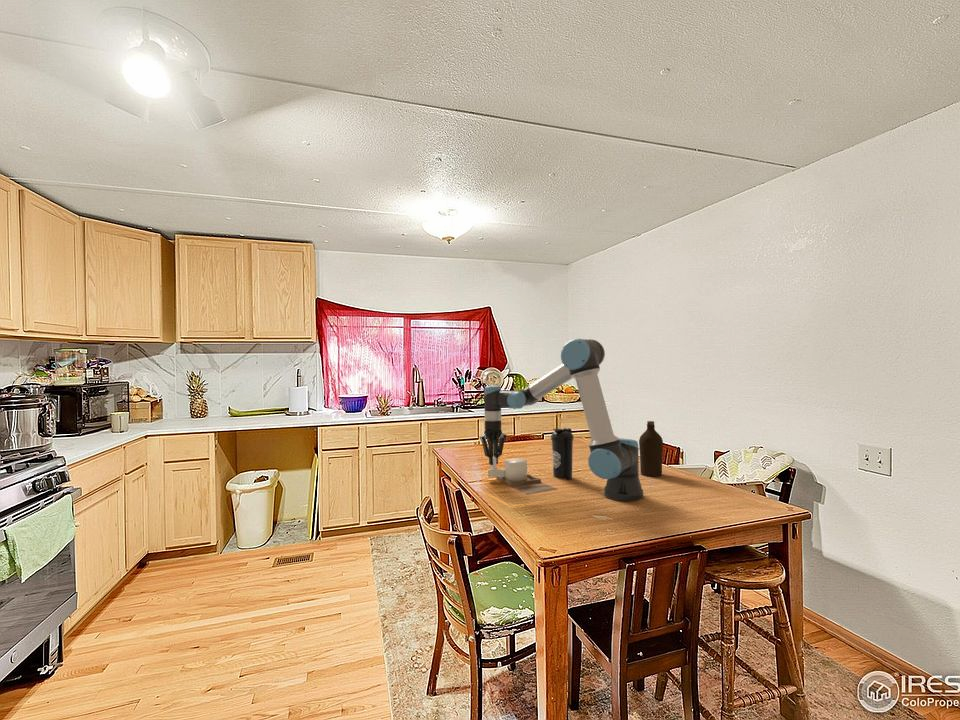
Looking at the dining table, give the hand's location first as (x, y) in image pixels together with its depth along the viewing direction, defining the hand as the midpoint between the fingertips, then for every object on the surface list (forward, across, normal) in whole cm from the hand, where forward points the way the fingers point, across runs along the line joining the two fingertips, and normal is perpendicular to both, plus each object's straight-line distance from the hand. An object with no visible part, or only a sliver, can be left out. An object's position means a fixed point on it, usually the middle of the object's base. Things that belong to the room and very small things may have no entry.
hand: (493, 471), depth 215 cm
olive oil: (+5, -70, +26) cm, 75 cm away
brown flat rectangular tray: (+4, -8, +14) cm, 17 cm away
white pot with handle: (+3, -4, +6) cm, 8 cm away
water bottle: (+5, -30, +10) cm, 33 cm away
